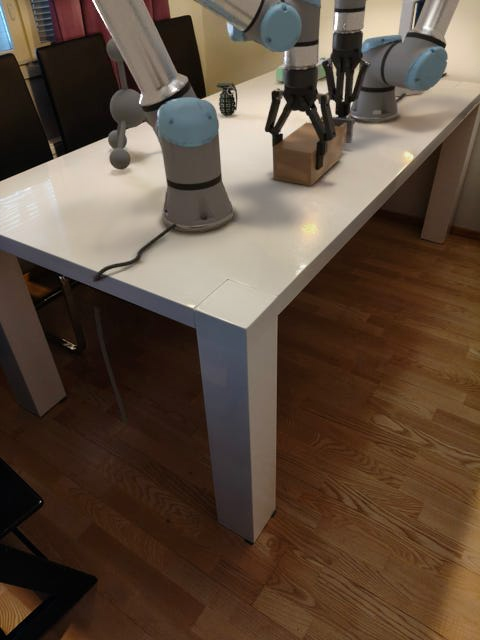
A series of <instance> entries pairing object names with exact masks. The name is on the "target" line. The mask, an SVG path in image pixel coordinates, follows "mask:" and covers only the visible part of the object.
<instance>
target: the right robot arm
mask: <svg viewBox="0 0 480 640" xmlns="http://www.w3.org/2000/svg"><path fill="white" fill-rule="evenodd" d="M459 2H460V0H426V1H425V4H424V6H423V9H422V11H421V14H420V16H419V19H418V21H417V24H416V26H415V28H414V27H413V28H412V30H410V31H408V32H407V34H406V37H405V39H404V42H402V36H401V35H398V34H389V35H381V36H375V37H370V38H366V39H364V32H363V31H362V30H363V29H364V26H365V17H366V16H365V15H366V3H367V0H334V6H333V7H334V8H333V23H332V30H333V31H334V32H333V33H332V43H331V44H332V45H331V47H332V48H331V53H330V55H329V57H328V59H327V60H325V61H323V62H322V66H323V68H324V70H325V75H326V77H325V81H326V86H327V87H326V88H327V93H329V94H330V101H333V102H335V111H334V113H335V115H336V116H337V117H338V118H348V117H349V118H353V119H355V122H360V123H370V124H376V123H378V124H379V123H380V124H381V123H388V122H391V121H394V120H396V119H397V118H398V112H399V111H398V104H397V103H398V102H399V101H400V100H401V99H403V98H404V97H405V96H407V95H406V94H405V93H404V94H403V95H401V96H398V98H397V97H395V86H396V87H401V88H405V89H408V90H411V91H422V92H425V91H428V90H430V89H431V88H434V87H435V86H436V85H437V84H438V83H439V81H440V80H441V79H442V78H443V77H444V76H446V75H448V73H447V72H446V69H447V65H448V59H449V58H448V57H449V56H448V52H447V50H446V47H447V41H446V37H445V36H446V32H447V31H448V28H449V26H450V24H451V21H452V20H453V16H454V14H455V12H456V10H457V7H458V5H459V4H460V3H459ZM363 39H364V40H363ZM332 66H333V68H332ZM357 67H358V73H357V76H356V80H355V83H354V75H355V72H356V71H355V70H356V68H357ZM334 68H335V74H334ZM335 76H336V80H335ZM335 81H336V82H335Z"/></svg>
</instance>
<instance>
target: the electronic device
mask: <svg viewBox="0 0 480 640" xmlns="http://www.w3.org/2000/svg"><path fill="white" fill-rule="evenodd" d="M425 1H426V0H402V3H401V11H400V18H399V26H398V34H397V35H401V36H402V42H404V39H405V37H406V34H407V32H408V31H410V30H412V29H414V28H415V26H416V24H417V21H418V19H419V16H420V14H421V11H422V9H423V6H424V4H425ZM422 92H423V91H411V90H408V89H405V88H401V87H396V86H395V97H396V98H397V97H400V96H401V95H403V94H404V93H405V94H406V95H405V96H412V95H418V94H421V93H422Z"/></svg>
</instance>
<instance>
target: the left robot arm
mask: <svg viewBox="0 0 480 640" xmlns="http://www.w3.org/2000/svg"><path fill="white" fill-rule="evenodd" d="M193 1H194V2H196V3H197V4H198V5H200V6H202V7H203V8H205V9H206V10H208V11H209V12H211V13H213V14H214V15H216V16H217V17H219V18H220V19H222V20H223V21H225V23H226V28H227V33H228V36H229V39H230V40H231V41H232V42H233V43H241V42H242V43H246V42H254V43H256V44H259V45H261V46H262V47H263V48H265V49H267V50H268V51H269V52H272V53H283V62H284V65H285V66H286V67H285V69H284V82H283V85H284V87H283V89H281V88H276V89H273V90H271V92H270V93H271V102H270V106H269V111H268V115H267V118H266V121H265V126H264V131H265V133H269V134H270V135H271V146H272V148H273V147H274V146H275V145H276V144H278V143H279V142H280V141H282V140H283V139H284V133H282V129H283V127H284V126H285V124H286V122H287V120H288V118H289V117H290V115H291V113H292V112H296V111H297V112H298V111H299V112H301V113H305V115H306V116H307V117H308V119H309V120H310V123H312V125H313V127H314V129H315V131H316V133H317V135H318V138H319V141H318V142H317V147H316V170H319V169H320V168H322V167H323V158H324V155H326V154H327V148H328V141H331V140H332V139H334V138H335V137H336V131H335V127H334V122H333V117H334V116H333V114H332V113H333V112H332V108H331V104H330V103H331V100H330V94H329V93H328V92H326V93H320V92H319V91H318V81H319V80H318V67H317V66H316V64H317V63H318V58H319V49H320V48H319V47H320V46H319V45H320V23H321V9H322V0H193ZM92 2H93V4H94V6H95V9H96V10H97V13H99V15H100V17H101V19H102V21H103V23H104V25H105V27H106V29H107V30H108V32H109V33H110V36H111V39H112V38H113V40H114V42H115V44H116V45H117V47H118V49H119V51H120V53H121V55H122V57H123V59H124V61H123V62H125V64H126V66H127V68H128V70H129V72H130V74H131V77H133V79H134V81H135V83H136V85H137V87H138V89H139V90H140V95H141V96H140V101H139V104H140V106H141V107H142V109H143V111H144V113H145V115H146V117H147V119H148V121H149V122H150V124H151V126H152V127H151V126H150V127H151V128H152V130H153V132H154V134H155V135H156V138H157V140H158V143H159V146H160V148H161V153H162V159H163V168H164V173H165V180H166V190H165V191H166V192H165V196H164V203H163V207H162V218H163V222H164V224H165V226H167V228H166V229H165V230H163V231H162V232H160V233H159V234H158V235H156V236H155V237H154V238H153V239H151V240H149V242H147V243H146V244H144V245H143V246H142V247H141V248H140V249H138V251H137V253H136V256H135V257H134V258H133V259H130V260H127V261H123V262H118V263H113V264H109V265H107V266H103V268H101V269H100V270H99V271H98V272H97V273H96V274H95V276H94V278H93V279H92V282H93V283H96V282H97V281H98V280H99V279H100V277H102V275H103V274H105V273H106V272H107V271H110V270H112V269H117V268H123V267H127V266H131V265H133V264H135V263H137V262H138V261H140V259H141V256H142V254H143V253H144V252H145V251H146V250H147V249H148V248H150V247H151V246H152V245H154V244H155V243H156V242H158V241H159V240H160V239H162V238H163V237H164V236H165V235H167V234H168V233H169V232H171V231H172V230H173V231H177V232H180V233H190V234H191V233H192V234H193V233H194V234H195V233H196V234H197V233H205V232H206V233H207V232H210V231H215V230H216V229H220V228H222V227H224V226H226V225H227V224H228V223H230V221H231V220H232V218H233V216H234V212H233V211H234V210H233V205H232V201H231V200H230V197H229V195H228V192H227V190H226V187H225V184H224V182H223V175H222V174H223V173H222V161H221V147H220V146H221V145H220V133H219V131H220V130H219V129H220V122H219V118H218V114H217V109H216V108H215V105H213V104H212V103H211V102H210V101H208V100H207V99H206V100H205V99H201V98H199V97H197V95H196V93H195V91H194V89H193V87H192V84H191V83H190V80H189V78H188V76H186V75H184V74H181V73H178V71H177V69H176V67H175V65H174V63H173V61H172V59H171V56H170V55H169V52H168V50H167V48H166V45H165V44H164V41H163V39H162V38H161V35H160V33H159V31H158V28H157V27H156V25H155V22H154V21H153V18H152V16H151V14H150V12H149V10H148V7H147V6H146V3H145V1H144V0H92ZM282 99H284V101H285V102H286V103H285V105H284V106H283V109H282V112H281V113H280V115H279V117H277V116H278V113H279V111H280V110H279V109H280V105H281V103H282ZM316 101H318V104H319V106H320V113H321V116H320V113H319V112H318V107H317V105H316V103H315V102H316ZM321 117H323V122H324V125H323V123H322V120H321ZM277 118H278V119H277ZM276 120H277V121H276ZM324 126H325V127H324ZM93 309H94V316H95V317H94V318H95V323H96V329H97V335H98V339H99V344H100V348H101V352H102V357H103V360H104V363H105V366H106V371H107V372H108V376H109V379H110V382H111V385H112V388H113V391H114V394H115V398H116V400H117V404H118V407H119V410H120V413H121V416H122V421H123V424H124V426H128V424H129V423H128V419H127V416H126V412H125V407H124V405H123V402H122V397H121V395H120V392H119V389H118V385H117V382H116V379H115V376H114V374H113V370H112V367H111V364H110V360H109V356H108V352H107V350H106V345H105V339H104V335H103V330H102V329H103V328H102V322H101V317H100V316H101V315H100V308H99V307H97V306H94V307H93Z"/></svg>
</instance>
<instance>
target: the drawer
mask: <svg viewBox="0 0 480 640" xmlns="http://www.w3.org/2000/svg"><path fill="white" fill-rule="evenodd" d="M332 117H333V122H334V126H340V127H343V135H342V148H343V147H345V145H346V144H350V145H351V144H352V143H353V134H354V125H355V123H356V120H355V119H353V118H350V117H347V118H338V116H332ZM320 118H321V120H322V123H323V125H324V122H323V117H322V116H320Z"/></svg>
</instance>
